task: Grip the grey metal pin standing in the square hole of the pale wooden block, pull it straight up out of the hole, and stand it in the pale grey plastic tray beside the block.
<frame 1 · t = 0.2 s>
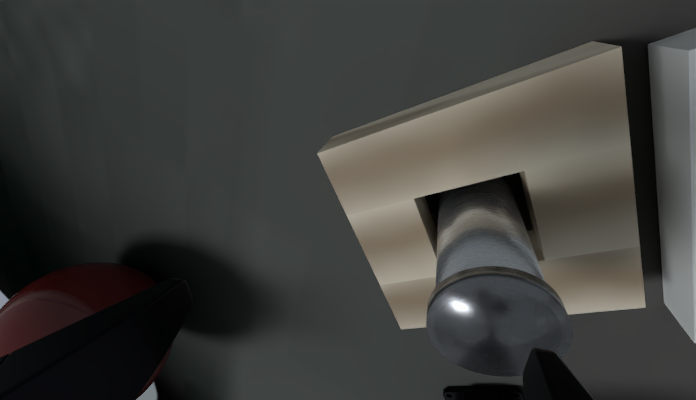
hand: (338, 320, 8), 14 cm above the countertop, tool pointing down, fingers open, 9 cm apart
round-bottom flask: (149, 284, 34), on the countertop
metal pin: (482, 251, 17), in the socket block
socket block: (475, 202, 21), on the countertop
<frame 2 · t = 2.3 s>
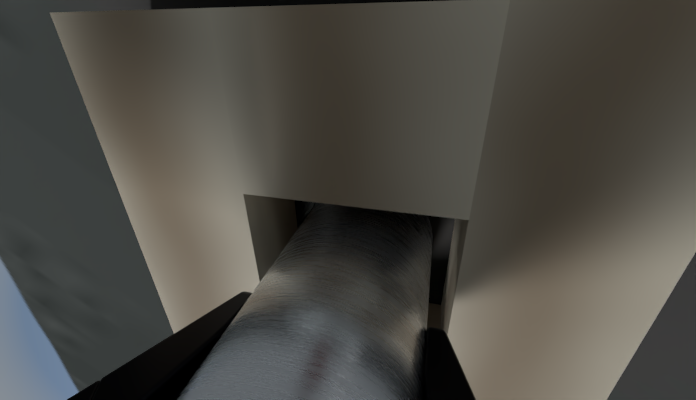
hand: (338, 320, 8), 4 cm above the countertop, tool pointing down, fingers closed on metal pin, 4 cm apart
metal pin: (326, 352, 8), in the socket block, touching gripper
socket block: (369, 233, 12), on the countertop
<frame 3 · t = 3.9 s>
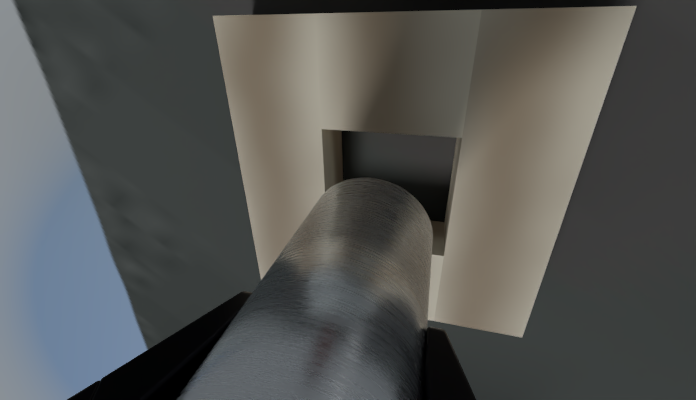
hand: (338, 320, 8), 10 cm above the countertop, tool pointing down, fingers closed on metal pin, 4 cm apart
metal pin: (326, 352, 8), point 11 cm above the countertop, touching gripper
socket block: (394, 169, 17), on the countertop
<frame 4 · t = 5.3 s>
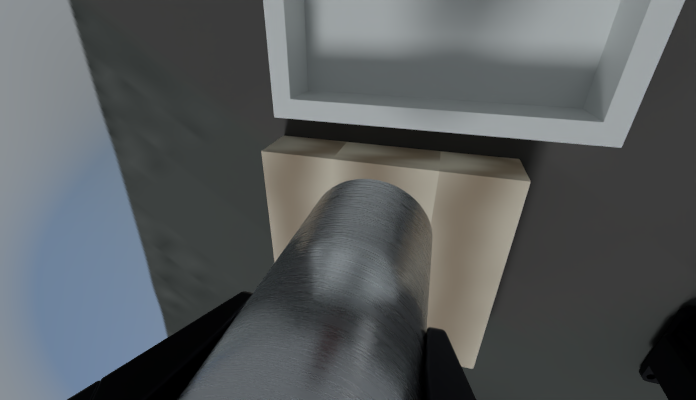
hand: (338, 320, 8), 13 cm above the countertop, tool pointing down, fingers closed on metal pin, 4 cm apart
metal pin: (326, 354, 8), point 14 cm above the countertop, touching gripper
socket block: (384, 242, 23), on the countertop
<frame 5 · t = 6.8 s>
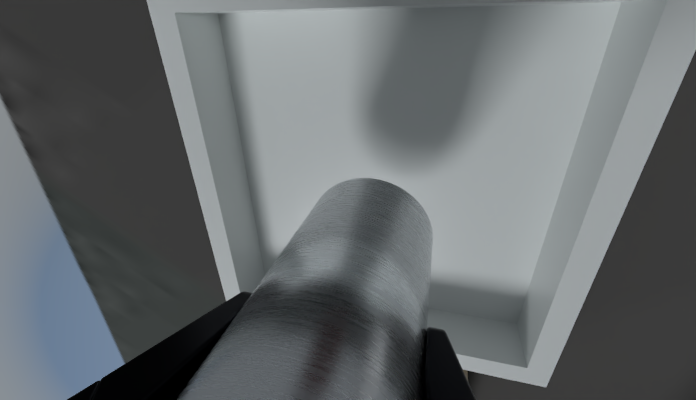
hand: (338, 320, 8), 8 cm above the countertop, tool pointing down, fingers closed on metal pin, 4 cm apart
metal pin: (326, 353, 8), point 9 cm above the countertop, touching gripper
tray: (386, 182, 15), on the countertop
when the fingers open (5 cm above the countertop, at t = 8.1 s): metal pin stays where it is, resting on tray.
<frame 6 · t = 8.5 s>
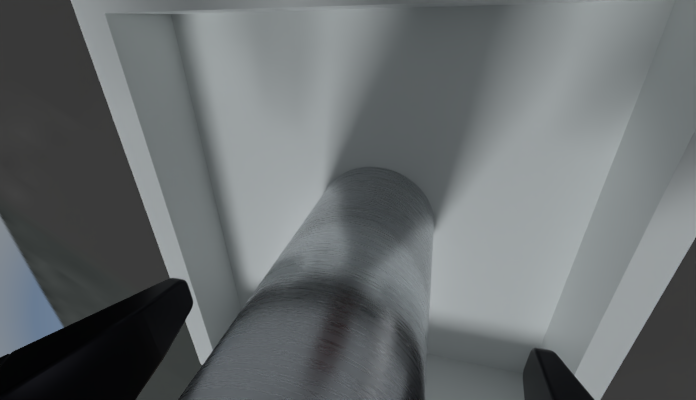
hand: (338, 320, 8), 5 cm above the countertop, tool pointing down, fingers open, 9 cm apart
metal pin: (339, 320, 8), in the tray
tray: (376, 212, 13), on the countertop
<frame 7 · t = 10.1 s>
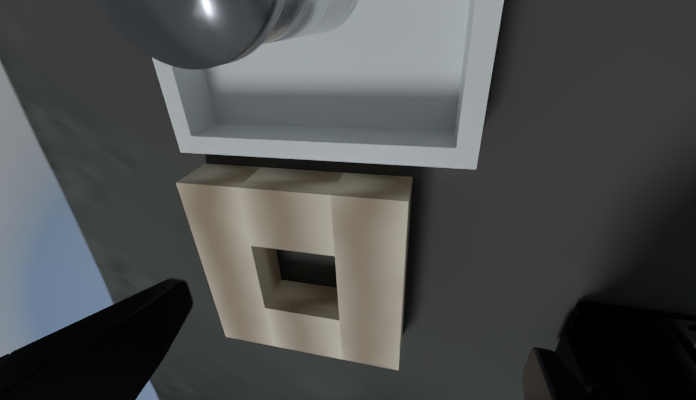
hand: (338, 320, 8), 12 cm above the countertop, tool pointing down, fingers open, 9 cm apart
socket block: (311, 256, 24), on the countertop
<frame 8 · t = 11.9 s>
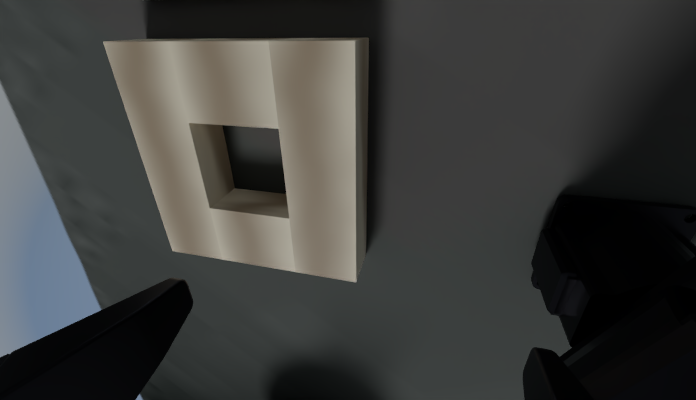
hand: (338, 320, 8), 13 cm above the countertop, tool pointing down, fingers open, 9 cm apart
socket block: (264, 154, 22), on the countertop
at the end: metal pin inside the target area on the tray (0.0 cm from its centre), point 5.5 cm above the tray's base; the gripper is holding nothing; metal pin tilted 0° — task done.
